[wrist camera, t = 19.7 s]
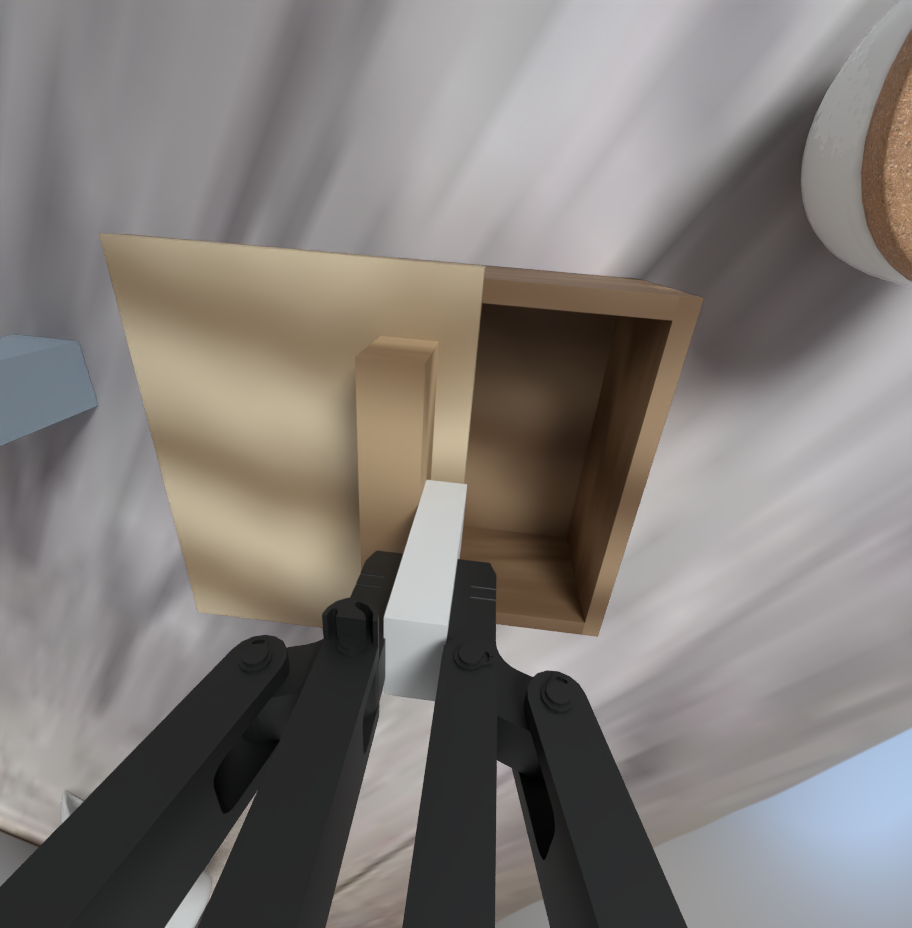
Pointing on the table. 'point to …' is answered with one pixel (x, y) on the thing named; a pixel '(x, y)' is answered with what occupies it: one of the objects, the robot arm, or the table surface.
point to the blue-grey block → (40, 384)
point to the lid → (295, 407)
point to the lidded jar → (866, 154)
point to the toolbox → (566, 434)
